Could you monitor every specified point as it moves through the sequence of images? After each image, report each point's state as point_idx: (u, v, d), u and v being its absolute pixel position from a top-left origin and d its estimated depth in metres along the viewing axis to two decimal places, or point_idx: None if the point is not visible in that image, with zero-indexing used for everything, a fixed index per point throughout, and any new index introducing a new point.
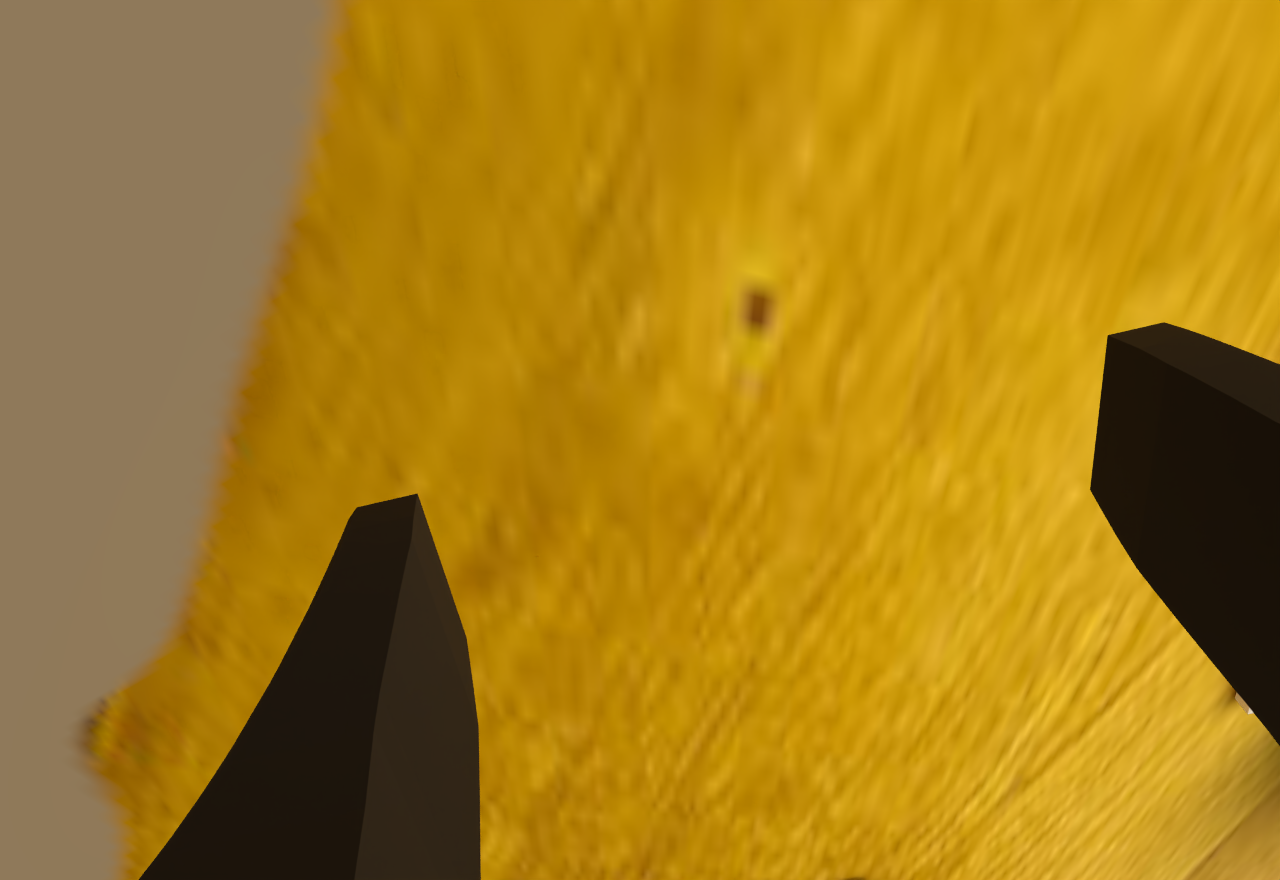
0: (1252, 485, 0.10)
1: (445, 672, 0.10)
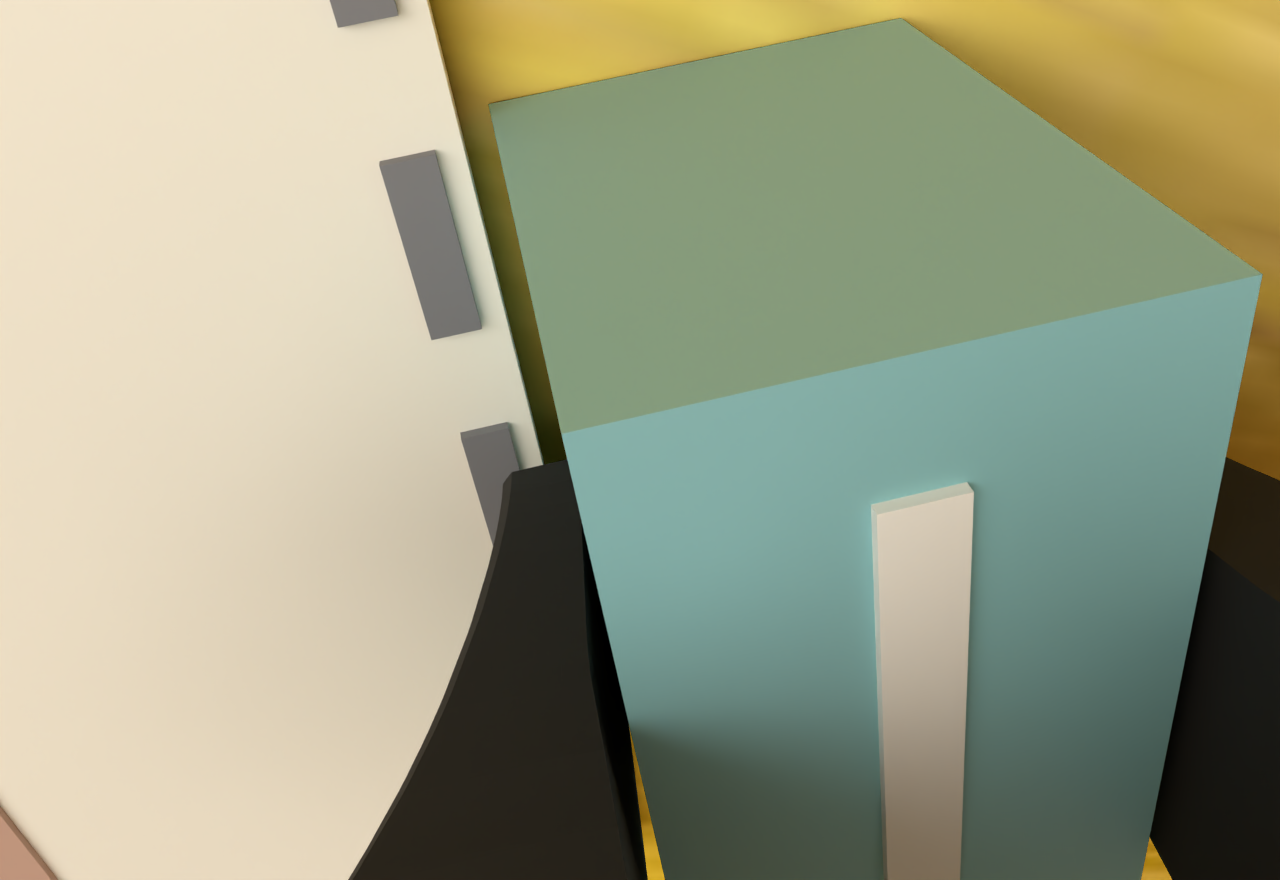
0: None
1: (607, 633, 0.10)
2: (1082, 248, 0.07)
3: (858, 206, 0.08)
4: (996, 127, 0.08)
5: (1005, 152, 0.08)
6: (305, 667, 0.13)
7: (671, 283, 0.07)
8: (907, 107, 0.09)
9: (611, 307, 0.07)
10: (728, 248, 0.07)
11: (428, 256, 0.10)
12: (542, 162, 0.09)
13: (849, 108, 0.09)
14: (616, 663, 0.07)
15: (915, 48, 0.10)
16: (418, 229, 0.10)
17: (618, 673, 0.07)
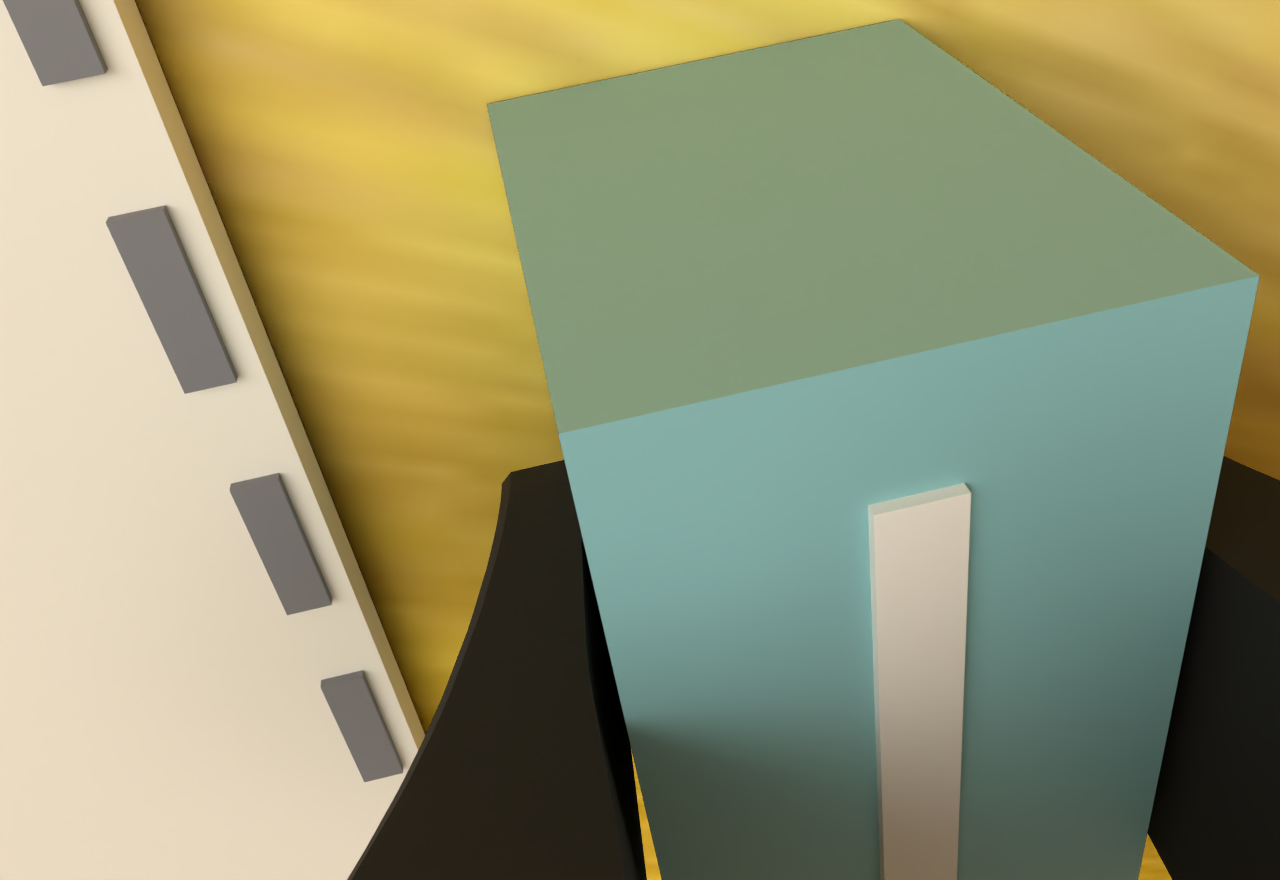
0: None
1: None
2: (1080, 249, 0.07)
3: (857, 206, 0.08)
4: (994, 127, 0.08)
5: (1003, 153, 0.08)
6: (99, 715, 0.13)
7: (668, 283, 0.07)
8: (906, 109, 0.09)
9: (609, 309, 0.07)
10: (726, 248, 0.07)
11: (170, 311, 0.10)
12: (540, 162, 0.09)
13: (848, 109, 0.09)
14: (613, 664, 0.07)
15: (913, 49, 0.10)
16: (158, 283, 0.10)
17: (615, 674, 0.07)
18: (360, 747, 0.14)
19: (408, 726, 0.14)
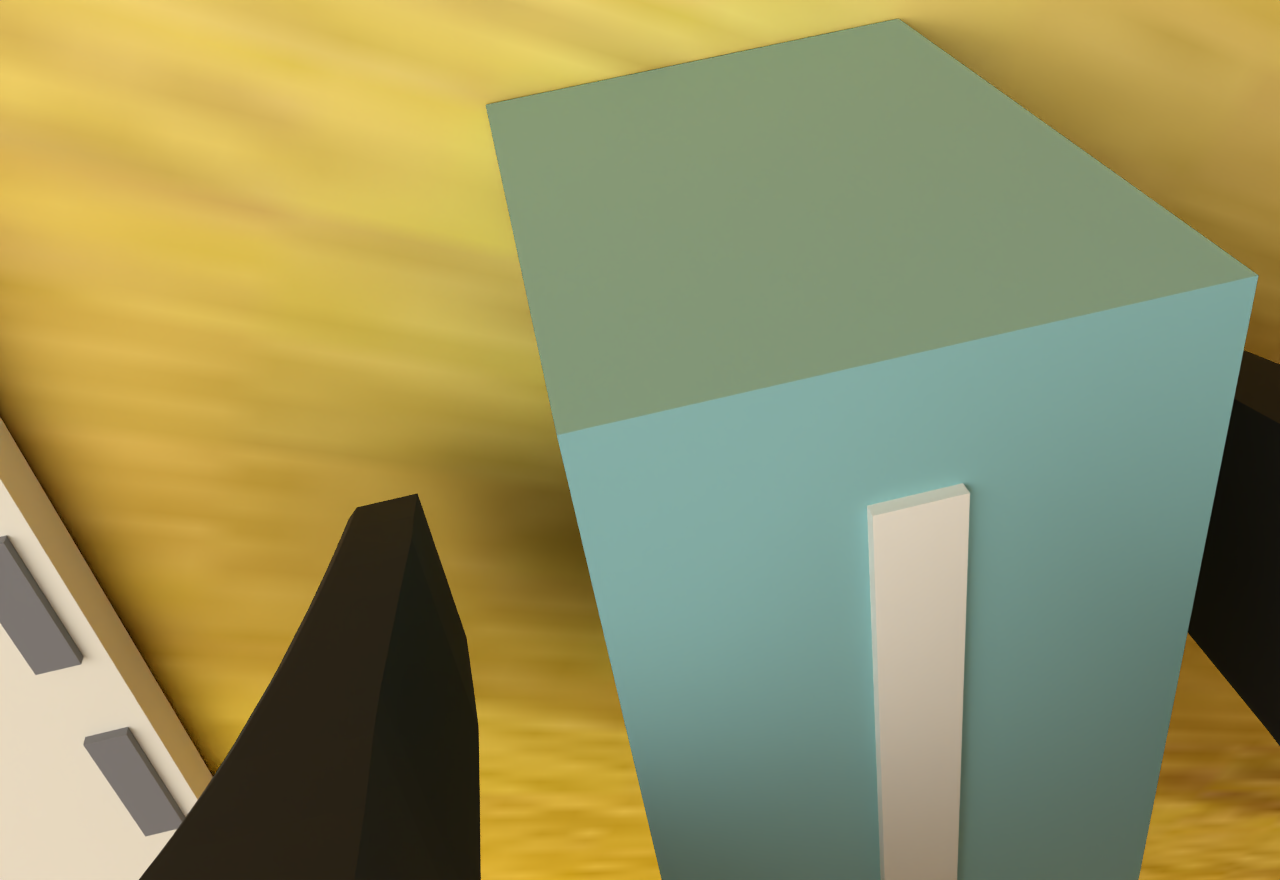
0: (1252, 485, 0.10)
1: (445, 672, 0.10)
2: (1078, 249, 0.07)
3: (854, 207, 0.08)
4: (991, 128, 0.08)
5: (1002, 153, 0.08)
6: None
7: (666, 284, 0.07)
8: (905, 109, 0.09)
9: (608, 309, 0.07)
10: (724, 248, 0.07)
11: None
12: (539, 163, 0.09)
13: (846, 109, 0.09)
14: (612, 664, 0.07)
15: (913, 49, 0.10)
16: None
17: (614, 674, 0.07)
18: (139, 801, 0.14)
19: (186, 780, 0.14)
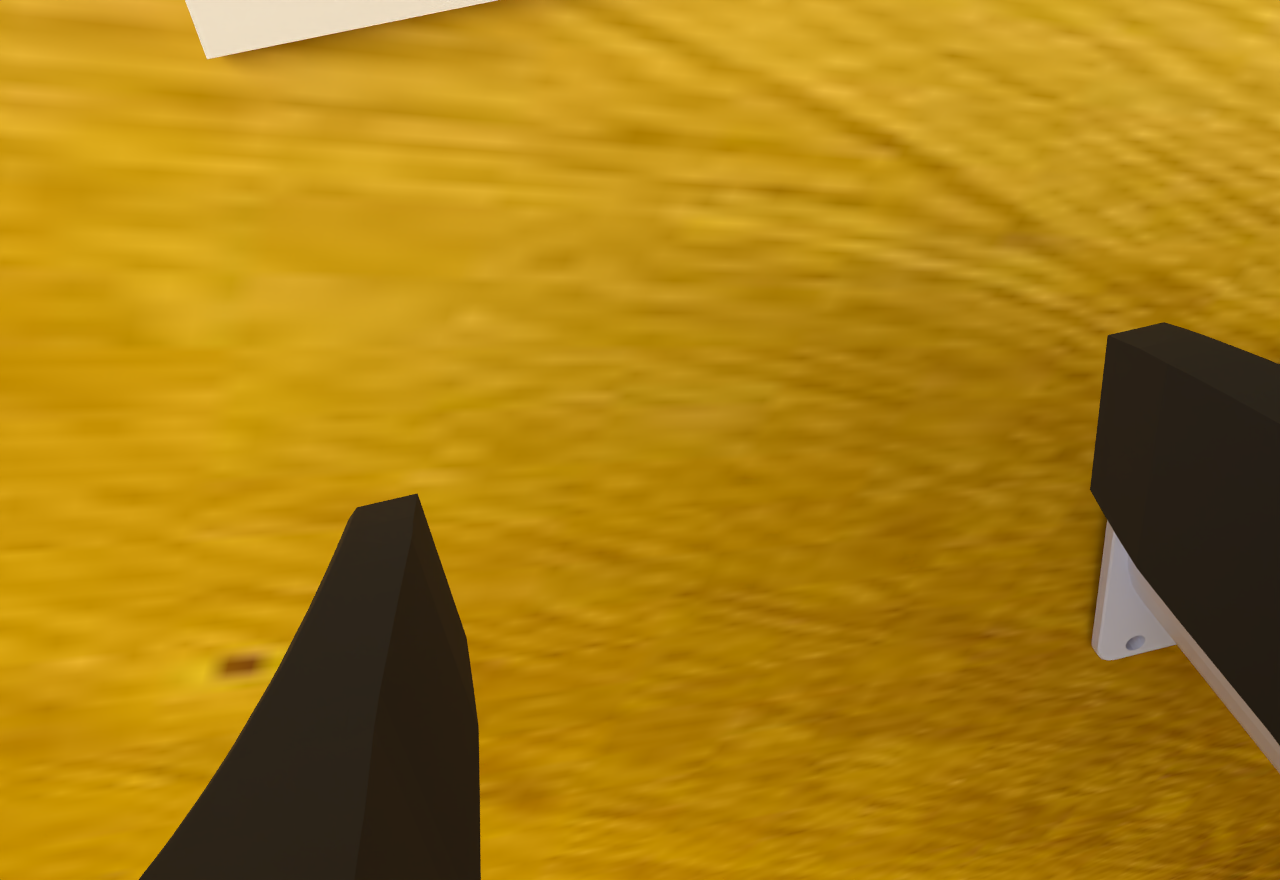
0: (1252, 485, 0.10)
1: (445, 672, 0.10)
2: None
3: None
4: None
5: None
6: None
7: None
8: None
9: None
10: None
11: None
12: None
13: None
14: None
15: None
16: None
17: None
18: None
19: None
